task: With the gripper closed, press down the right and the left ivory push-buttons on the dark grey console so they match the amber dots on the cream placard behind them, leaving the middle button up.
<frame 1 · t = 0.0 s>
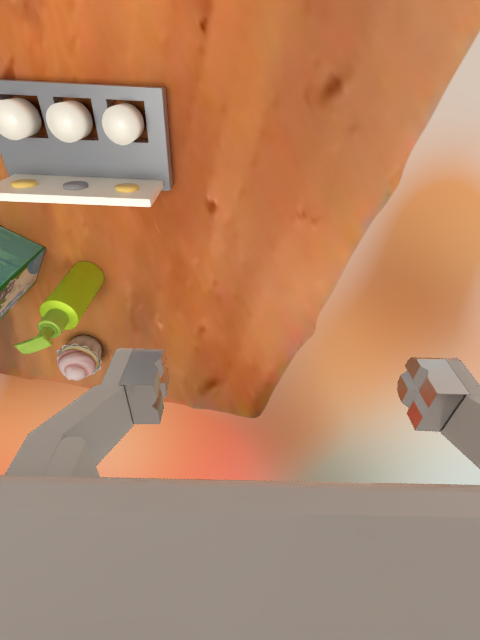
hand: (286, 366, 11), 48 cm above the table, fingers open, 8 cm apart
button middle: (70, 121, 44), point 5 cm above the table, slide at 0.0 cm
milk carton: (15, 254, 61), on the table
cupcake: (87, 344, 75), on the table
soap dispenser: (86, 275, 64), on the table
console: (88, 136, 50), on the table
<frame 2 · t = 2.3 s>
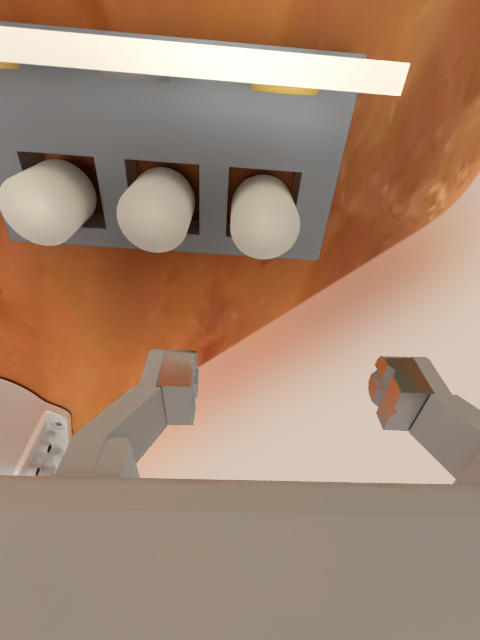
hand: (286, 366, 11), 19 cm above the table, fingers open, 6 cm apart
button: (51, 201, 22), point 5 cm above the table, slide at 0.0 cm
button middle: (159, 209, 22), point 5 cm above the table, slide at 0.0 cm
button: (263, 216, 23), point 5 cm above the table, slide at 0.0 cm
console: (169, 152, 25), on the table
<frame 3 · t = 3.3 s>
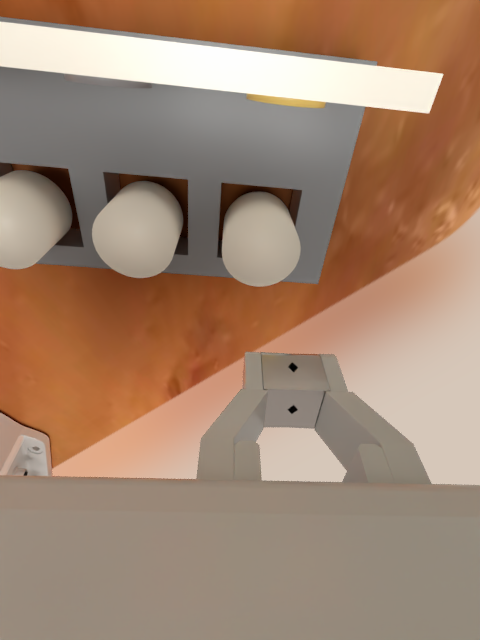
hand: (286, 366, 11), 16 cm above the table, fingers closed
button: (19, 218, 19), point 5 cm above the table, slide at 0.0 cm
button middle: (141, 228, 20), point 5 cm above the table, slide at 0.0 cm
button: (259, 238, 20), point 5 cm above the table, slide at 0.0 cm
console: (155, 164, 22), on the table
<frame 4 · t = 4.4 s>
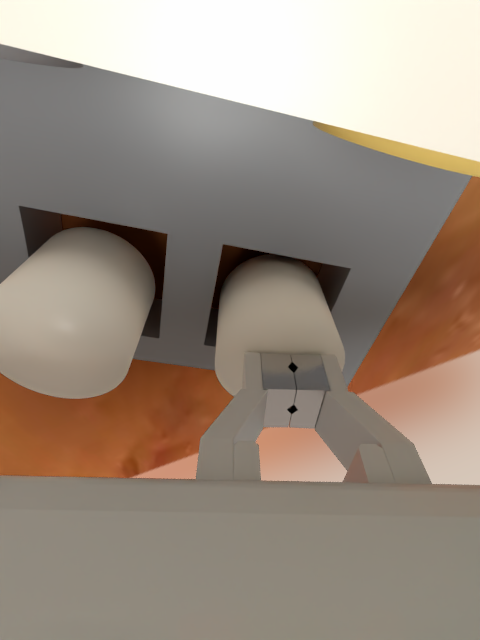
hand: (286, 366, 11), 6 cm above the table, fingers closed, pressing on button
button middle: (79, 310, 11), point 5 cm above the table, slide at 0.0 cm
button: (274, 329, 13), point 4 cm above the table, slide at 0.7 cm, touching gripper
console: (119, 193, 14), on the table
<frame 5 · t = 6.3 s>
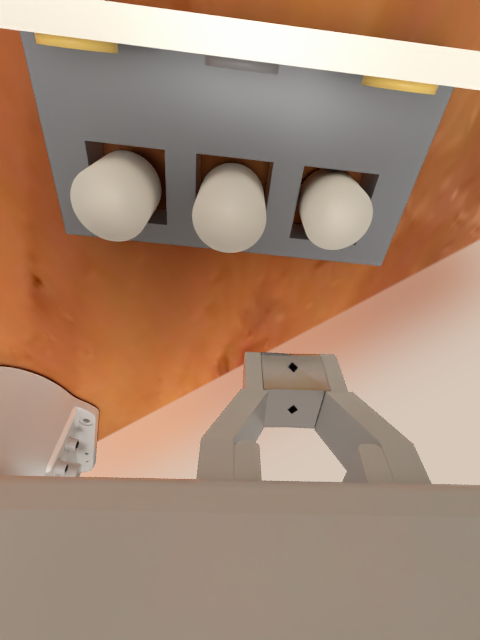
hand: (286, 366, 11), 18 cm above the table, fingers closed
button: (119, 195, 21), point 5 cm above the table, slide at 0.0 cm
button middle: (230, 207, 21), point 5 cm above the table, slide at 0.0 cm
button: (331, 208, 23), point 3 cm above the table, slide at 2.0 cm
console: (236, 148, 24), on the table
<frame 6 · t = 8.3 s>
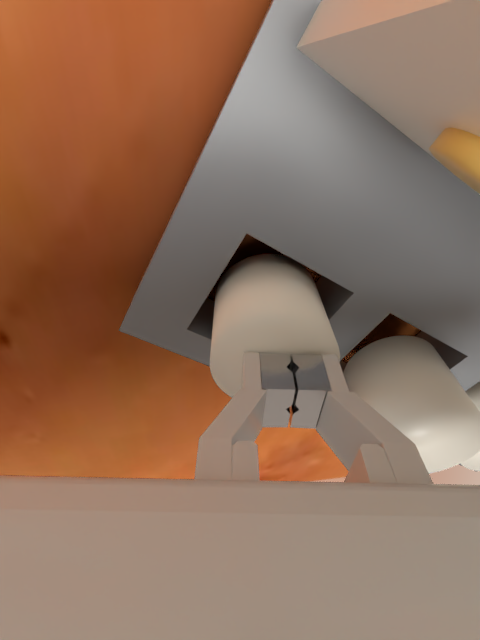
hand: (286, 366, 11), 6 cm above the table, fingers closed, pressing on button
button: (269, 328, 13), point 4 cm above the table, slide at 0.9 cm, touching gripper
button middle: (406, 404, 14), point 5 cm above the table, slide at 0.0 cm
console: (403, 298, 17), on the table
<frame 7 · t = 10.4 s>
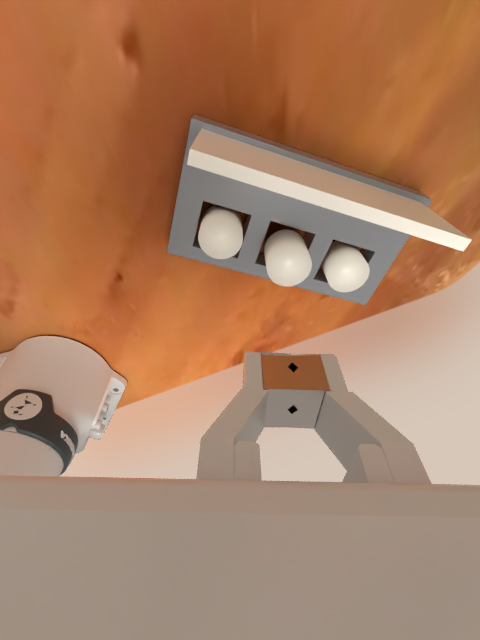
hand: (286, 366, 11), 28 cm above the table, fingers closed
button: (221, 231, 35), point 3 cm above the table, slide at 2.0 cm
button middle: (286, 257, 34), point 5 cm above the table, slide at 0.0 cm
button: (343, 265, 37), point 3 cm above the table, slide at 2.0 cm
console: (289, 217, 37), on the table
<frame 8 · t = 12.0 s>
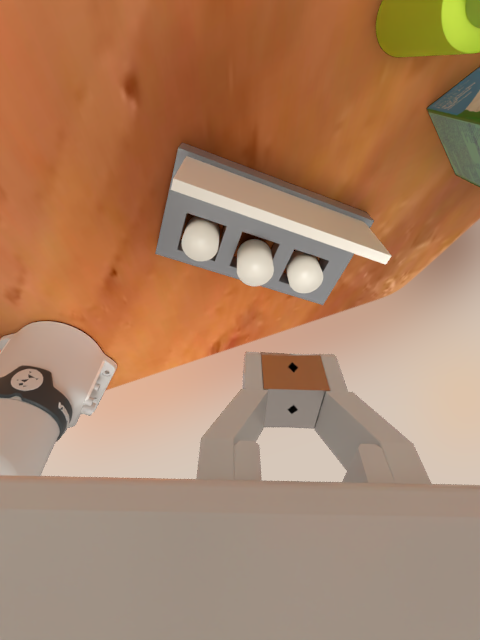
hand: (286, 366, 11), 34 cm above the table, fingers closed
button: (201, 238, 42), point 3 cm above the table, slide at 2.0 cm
button middle: (254, 262, 41), point 5 cm above the table, slide at 0.0 cm
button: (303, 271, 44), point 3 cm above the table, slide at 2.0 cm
soap dispenser: (412, 17, 32), on the table
console: (260, 228, 44), on the table
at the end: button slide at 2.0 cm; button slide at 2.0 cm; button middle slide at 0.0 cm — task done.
